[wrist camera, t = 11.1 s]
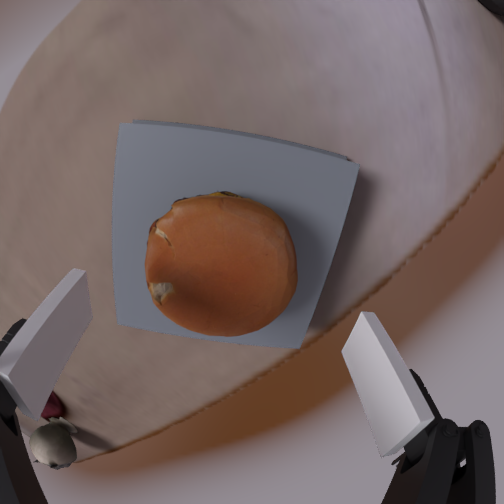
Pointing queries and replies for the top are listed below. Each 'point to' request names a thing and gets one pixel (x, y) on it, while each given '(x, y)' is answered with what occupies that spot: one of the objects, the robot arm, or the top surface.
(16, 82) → the top surface
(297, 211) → the stacking base
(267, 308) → the burger
